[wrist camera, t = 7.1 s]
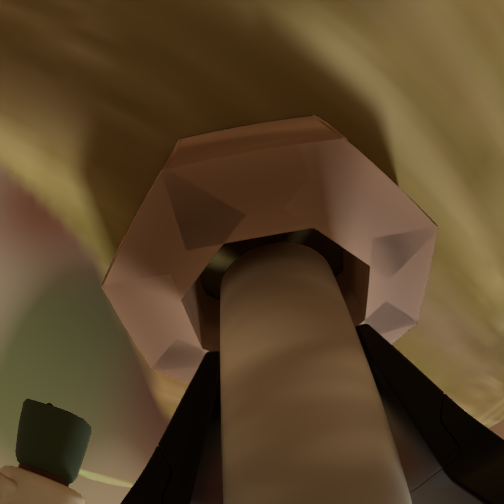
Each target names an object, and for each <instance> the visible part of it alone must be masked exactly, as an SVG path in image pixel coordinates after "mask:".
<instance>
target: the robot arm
mask: <svg viewBox="0 0 504 504" xmlns="http://www.w3.org/2000/svg"><path fill="white" fill-rule="evenodd" d="M355 329H356V332H357V335H358V337H359V340H360V342H361V345H362V348H363V351H364V353H365V356H366V359H367V361H368V364H369V367H370V370H371V373H372V375H373V378H374V381H375V384H376V387H377V390H378V393H379V395H380V398H381V401H382V404H383V407H384V410H385V413H386V416H387V419H388V423H389V426H390V429H391V432H392V435H393V438H394V442H395V445H396V448H397V451H398V455H399V458H400V461H401V465H402V468H403V472H404V475H405V479H406V482H407V486H408V490H409V493H410V497H411V501H412V504H504V440H503V439H502V438H500V437H499V436H498V435H496V434H495V433H494V432H492V431H491V430H489V429H488V428H487V427H485V426H484V425H483V424H481V423H480V422H478V421H477V420H476V419H474V418H473V417H472V416H470V415H469V414H468V413H467V412H465V411H464V410H463V409H462V408H461V407H459V406H458V405H457V404H456V403H455V402H454V401H453V400H452V399H450V398H449V397H448V396H447V395H446V394H444V392H443V391H442V390H441V389H440V388H439V387H437V386H436V385H435V384H434V383H433V382H432V381H431V380H430V379H429V378H428V377H427V376H426V375H424V374H423V373H422V372H421V371H420V370H419V369H418V368H417V367H416V366H415V365H413V364H412V363H411V362H410V361H409V360H408V359H407V358H406V357H405V356H404V355H402V354H401V353H400V352H399V351H398V350H397V349H396V348H395V347H394V346H393V345H391V344H390V343H389V342H388V341H387V340H386V339H385V338H384V337H382V336H381V335H380V334H379V333H378V332H377V331H376V330H375V329H374V328H372V327H371V326H370V325H369V324H361V325H357V326H355ZM158 445H159V446H157V447H156V449H155V451H154V453H153V455H152V457H151V458H150V460H149V462H148V464H147V466H146V467H145V469H144V470H143V472H142V474H141V475H140V477H139V478H138V480H137V481H136V483H135V484H134V485H133V487H132V488H131V490H130V491H129V492H128V494H127V495H126V497H125V498H124V499H123V501H122V502H121V504H223V482H222V450H221V402H220V351H209V352H207V353H205V355H204V357H203V359H202V361H201V363H200V365H199V367H198V369H197V370H196V372H195V374H194V376H193V378H192V380H191V382H190V384H189V386H188V388H187V390H186V392H185V394H184V395H183V397H182V399H181V401H180V403H179V405H178V407H177V409H176V411H175V413H174V415H173V417H172V419H171V420H170V422H169V424H168V426H167V428H166V430H165V432H164V434H163V436H162V438H161V440H160V442H159V443H158Z"/></svg>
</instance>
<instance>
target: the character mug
mask: <svg viewBox="0 0 504 504" xmlns="http://www.w3.org/2000/svg"><path fill="white" fill-rule="evenodd" d="M90 436H91V426H90V425H89V424H87V422H86V421H84V419H82V418H80V417H78V416H76V415H74V414H72V413H71V412H68V411H65V410H63V409H60V408H57V407H54V406H53V405H52V404H51V403H48V404H44V403H41V402H37V401H34V400H30V399H26V400H25V401H24V403H23V408H22V412H21V416H20V421H19V427H18V434H17V443H16V457H17V461H18V462H19V463H20V464H19V465H18V467H14V466H4V467H2V468H1V469H0V504H85V497H83V496H82V495H81V494H79V493H78V492H76V491H75V490H73V489H71V488H69V487H68V485H69V484H70V483H72V482H73V481H74V480H75V479H76V477H77V476H78V473H79V470H80V467H81V464H82V461H83V458H84V455H85V452H86V449H87V446H88V442H89V439H90Z"/></svg>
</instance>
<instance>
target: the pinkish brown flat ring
mask: <svg viewBox="0 0 504 504" xmlns="http://www.w3.org/2000/svg"><path fill="white" fill-rule="evenodd" d="M309 228H315V229H316V230H318V231H319V232H321V233H322V234H324V235H325V236H327V237H328V238H330V239H331V240H333V241H334V242H336V243H337V244H339V245H340V246H341V247H343V270H342V271H341V272H340V273H339V274H338V275H337V276H336V277H335V279H336V282H337V284H338V286H339V289H340V291H341V294H342V296H343V299H344V301H345V304H346V306H347V309H348V311H349V314H350V316H351V319H352V322H353V324H354V327H355V326H357V325H361V324H369V325H370V326H371V327H372V328H374V329H375V330H376V331H377V332H378V333H379V334H380V335H381V336H382V337H384V338H385V339H386V340H387V341H388V342H389V343H390V344H392V343H394V342H395V341H396V340H397V339H398V338H400V337H401V336H402V335H403V334H404V333H406V332H407V331H408V330H409V329H410V328H411V327H413V326H414V325H415V324H417V322H418V317H419V314H420V310H421V306H422V302H423V298H424V294H425V290H426V286H427V281H428V277H429V272H430V267H431V263H432V258H433V252H434V247H435V241H436V236H437V230H438V226H437V224H436V223H435V222H434V221H433V220H432V219H431V218H430V217H429V216H428V215H427V214H426V213H425V212H424V211H423V210H422V209H421V208H420V207H419V206H418V205H417V204H416V203H415V202H414V201H413V200H412V199H411V198H410V197H409V196H408V195H407V194H405V193H404V192H403V191H402V190H401V189H400V188H399V187H398V186H397V185H396V184H395V183H394V182H393V181H392V180H391V179H390V178H388V177H387V176H386V175H385V174H384V173H383V172H382V171H381V170H380V169H379V168H378V167H377V166H376V165H375V164H373V163H372V162H371V161H370V160H369V159H368V158H367V157H366V156H365V155H363V154H362V153H361V152H360V151H359V150H358V149H357V148H355V147H354V146H353V145H352V144H351V143H350V142H348V141H347V138H346V137H345V136H344V135H342V134H341V133H340V132H338V131H337V130H336V129H334V128H333V127H332V126H330V125H329V124H328V123H326V122H325V121H324V120H322V119H321V118H320V117H318V116H317V115H316V116H315V115H313V116H307V117H299V118H292V119H284V120H277V121H271V122H264V123H258V124H252V125H247V126H241V127H235V128H230V129H225V130H220V131H215V132H210V133H205V134H201V135H196V136H192V137H187V138H181V139H179V140H178V141H177V143H176V145H175V146H174V148H173V150H172V152H171V154H170V155H169V157H168V159H167V161H166V163H165V165H164V166H163V168H162V170H161V171H160V173H159V175H158V176H157V178H156V180H155V182H154V183H153V185H152V187H151V189H150V190H149V192H148V194H147V196H146V198H145V199H144V201H143V203H142V205H141V207H140V208H139V210H138V212H137V214H136V216H135V218H134V220H133V221H132V223H131V225H130V227H129V229H128V231H127V233H126V235H124V236H123V239H122V241H121V243H120V245H119V247H118V249H117V251H116V254H115V256H114V258H113V260H112V262H111V265H110V267H109V269H108V271H107V274H106V276H105V278H104V281H103V283H102V285H101V286H102V289H103V290H104V292H105V293H106V295H107V297H108V299H109V300H110V302H111V304H112V306H113V308H114V309H115V311H116V313H117V314H118V316H119V318H120V319H121V321H122V323H123V324H124V326H125V328H126V329H127V331H128V333H129V334H130V336H131V338H132V339H133V341H134V342H135V344H136V345H137V347H138V349H139V350H140V352H141V353H142V355H143V356H144V358H145V359H146V361H147V362H148V364H149V365H150V367H151V369H152V370H155V371H157V372H160V373H163V374H165V375H168V376H171V377H174V378H176V379H179V380H182V381H185V382H188V383H190V382H191V380H192V378H193V376H194V374H195V372H196V370H197V369H198V367H199V365H200V363H201V361H202V359H203V357H204V355H205V353H207V352H209V351H220V301H219V300H217V299H215V298H212V297H210V296H208V295H206V294H205V292H204V289H203V286H202V284H201V281H200V278H199V275H200V274H201V273H202V271H203V270H204V269H205V267H206V266H207V265H208V264H209V262H210V261H211V260H212V258H213V257H214V256H215V254H216V253H217V252H218V250H219V249H220V248H221V246H222V245H223V244H224V243H230V242H235V241H241V240H247V239H252V238H258V237H264V236H269V235H275V234H281V233H286V232H292V231H298V230H303V229H309Z"/></svg>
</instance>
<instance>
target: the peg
mask: <svg viewBox="0 0 504 504" xmlns="http://www.w3.org/2000/svg"><path fill="white" fill-rule="evenodd" d="M220 402H221V450H222V482H223V504H412V501H411V497H410V493H409V490H408V486H407V482H406V479H405V475H404V472H403V468H402V465H401V461H400V458H399V455H398V451H397V448H396V445H395V442H394V438H393V435H392V432H391V429H390V426H389V423H388V419H387V416H386V413H385V410H384V407H383V404H382V401H381V398H380V395H379V393H378V390H377V387H376V384H375V381H374V378H373V375H372V373H371V370H370V367H369V364H368V361H367V359H366V356H365V353H364V351H363V348H362V345H361V342H360V340H359V337H358V335H357V332H356V329H355V327H354V324H353V322H352V319H351V316H350V314H349V311H348V309H347V306H346V304H345V301H344V299H343V296H342V294H341V291H340V289H339V286H338V284H337V282H336V279H335V277H334V274H333V272H332V270H331V267H330V265H329V263H328V262H327V261H326V259H325V258H324V257H323V256H322V255H321V254H319V253H318V252H317V251H315V250H313V249H312V248H310V247H307V246H304V245H301V244H297V243H289V242H277V243H270V244H265V245H262V246H259V247H256V248H253V249H251V250H249V251H247V252H246V253H244V254H242V255H241V256H240V257H238V258H237V259H236V260H235V261H234V262H233V263H232V264H231V265H230V266H229V268H228V269H227V270H226V272H225V274H224V276H223V279H222V282H221V288H220Z"/></svg>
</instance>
